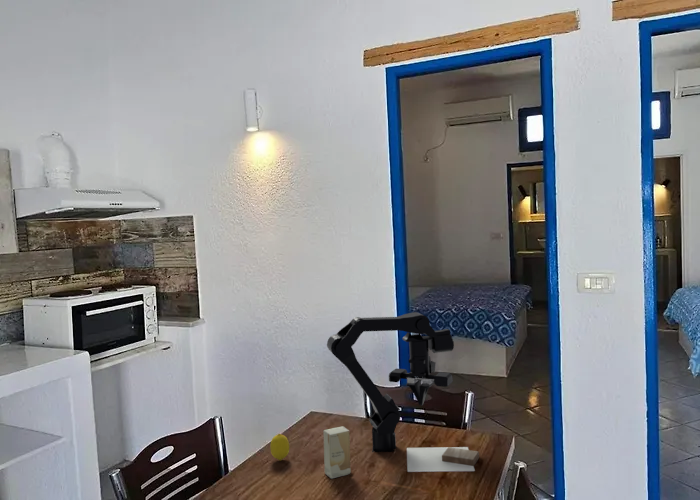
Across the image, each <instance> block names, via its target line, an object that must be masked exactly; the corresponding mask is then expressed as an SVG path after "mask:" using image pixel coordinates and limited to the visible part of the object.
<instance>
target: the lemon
mask: <svg viewBox="0 0 700 500" xmlns="http://www.w3.org/2000/svg"><path fill="white" fill-rule="evenodd" d="M270 441H271V442H270V454H271V455H272V457H273V458H275V459H277V460H279V462H280V461H282V460H283V459H285V458H286V457H287V456H288V454H289V451H290V442H289V440H288V437H287V436H285V435H284V434H281V433H277V434H276V435H275V436H273V437H272V439H271V440H270Z"/></svg>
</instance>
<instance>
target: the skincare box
mask: <svg viewBox="0 0 700 500" xmlns="http://www.w3.org/2000/svg"><path fill="white" fill-rule="evenodd" d="M322 432H323V458H324V459H323V460H324V464H323V465H324V474H325V475H326V476H327V477H329V479H335V478H339V477H343V476H347V475H350V474H351V472H352V470H351V443H350V441H351V440H350V430H349V429H348V428H346V427H345V426H343V425H342V426H338V427H332V428H329V429H324V430H323V431H322Z"/></svg>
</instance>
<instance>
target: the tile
mask: <svg viewBox="0 0 700 500" xmlns="http://www.w3.org/2000/svg"><path fill="white" fill-rule="evenodd" d="M451 447H452V446H451ZM451 447H448V448H447V450H446V451H445V452H444V454H443V455H442V461H444V462H450V463H457V464H463V465H470V466H474V467H475V465H476V464H477V462H478V460H479V458H480V451H477V450H471V449H469V450H465V449H458V448H451Z"/></svg>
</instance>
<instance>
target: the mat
mask: <svg viewBox="0 0 700 500" xmlns="http://www.w3.org/2000/svg"><path fill="white" fill-rule="evenodd" d="M447 448H448V447H447V446H446V447H444V446H443V447H406V466H407V472H408V473H413V472H415V473H418V472H420V473H421V472H424V473H425V472H426V473H427V472H429V473H430V472H431V473H432V472H434V473H435V472H437V473H438V472H476V470H475V465H474V466H470V465H463V464H457V463H450V462H444V461H442V455H443V454H444V452H445V451H446V450H447ZM451 448H458V449H465V450H470V449H469V446H459V447H458V446H455V447H454V446H453V447H452V446H451Z"/></svg>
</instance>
